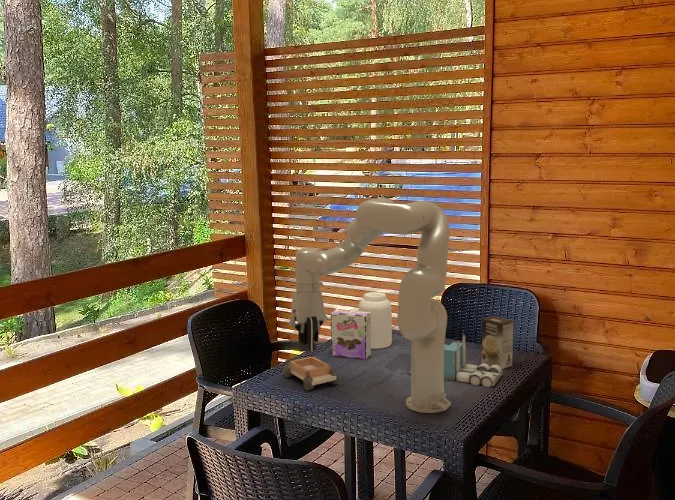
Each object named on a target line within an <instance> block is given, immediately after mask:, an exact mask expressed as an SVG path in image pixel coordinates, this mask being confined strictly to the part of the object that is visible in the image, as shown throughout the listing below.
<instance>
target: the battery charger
mask: <svg viewBox="0 0 675 500" xmlns="http://www.w3.org/2000/svg"><path fill="white" fill-rule="evenodd" d="M317 331H318V320H317V318H316V317H315V316H314V317H308V318H307V323H305V328H304V332H305V333H306V344H304V345H303V344H301V343H300V342H299V341H298V346H299V348H301V349H303V350H305V351H308V352H312V351H315V350H317V346H316V345H315V341H314V335H315V332H317Z"/></svg>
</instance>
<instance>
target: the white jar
mask: <svg viewBox="0 0 675 500" xmlns="http://www.w3.org/2000/svg"><path fill="white" fill-rule="evenodd" d="M391 303H392V302H391V301H390V300H389V299H388V298H387V294H386V293H385V292H381V291H370V292H366V293H364V294H363V298H362V299H361V300H360V301H359V304H358V311H360V312H371V350H373V349H374V350H376V349H377V350H378V349H379V350H380V349H385V348H388V347H390V346H391V345H392V343H393V334H392V333H393V332H392V331H393V330H392V329H393V325H392V322H393V321H392V320H393V319H392V318H393V316H392V315H393V314H392V312H393V310H392V304H391Z"/></svg>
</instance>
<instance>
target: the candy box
mask: <svg viewBox="0 0 675 500" xmlns="http://www.w3.org/2000/svg"><path fill="white" fill-rule="evenodd" d="M330 348H331V349H330V353H331V356H332V357H341V358H347V359H348V358H349V359H357V360H358V359H359V360H367V359H369V358H370V357H372V349H371V312H360V311H359V310H358V311H357V310H347V309H338V308H335V309H334V310H332V311H331V312H330Z"/></svg>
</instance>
